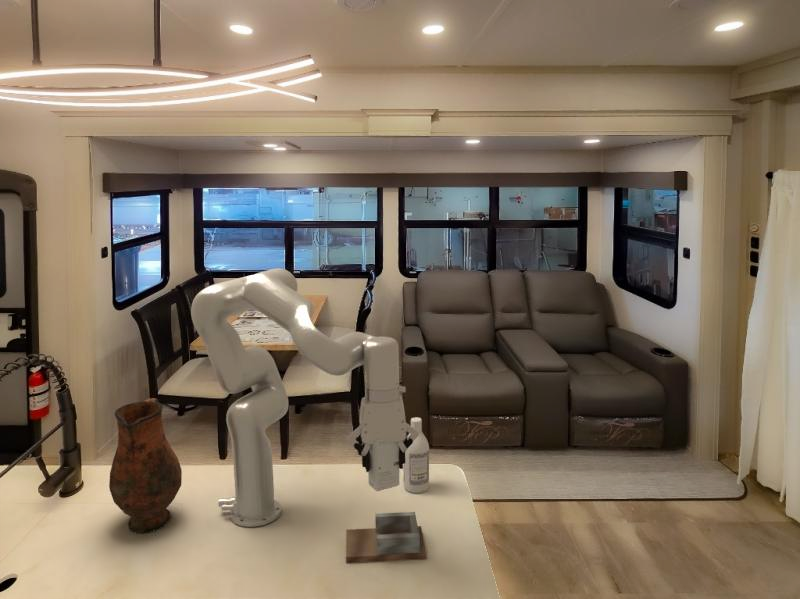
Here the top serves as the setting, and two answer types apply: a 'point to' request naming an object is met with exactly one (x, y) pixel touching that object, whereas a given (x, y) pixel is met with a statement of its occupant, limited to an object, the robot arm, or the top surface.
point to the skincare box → (383, 465)
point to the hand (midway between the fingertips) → (383, 467)
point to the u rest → (387, 540)
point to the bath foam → (417, 461)
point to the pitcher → (144, 467)
